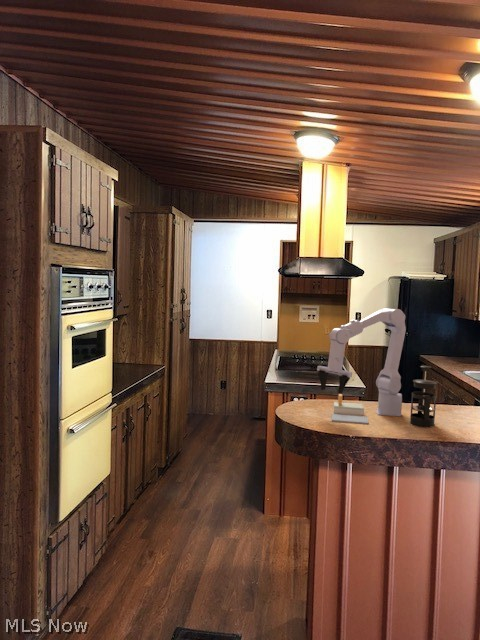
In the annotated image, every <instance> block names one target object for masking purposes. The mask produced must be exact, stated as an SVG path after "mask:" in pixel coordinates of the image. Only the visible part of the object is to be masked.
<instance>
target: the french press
mask: <svg viewBox="0 0 480 640" xmlns="http://www.w3.org/2000/svg"><path fill="white" fill-rule="evenodd" d="M419 367H420V368H423V369H424V379H413V380H412V382H413V387H414V388H417V389H423V391H412V392H411V406H410V418H409V419H410V420H409V424H410V425H411V424H412V426H415V427H420V428H427V427H428V428H434V427H435V426H436V424H435V417H436V406H437V405H436V403H437V394H435V393H433V392H428V391H427V392H426V390H435V389H436V385H437V384H438V382H437V381H434V380H430V379H429V380H428V379H426V378H427V372H428V369H432V366H430V365H420V366H419ZM414 398H415V399H418V401H417V403H418V404H417V405H414ZM431 401H433V407H431ZM413 411H417V412H414V413H413ZM430 413H432V414H430Z"/></svg>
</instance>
